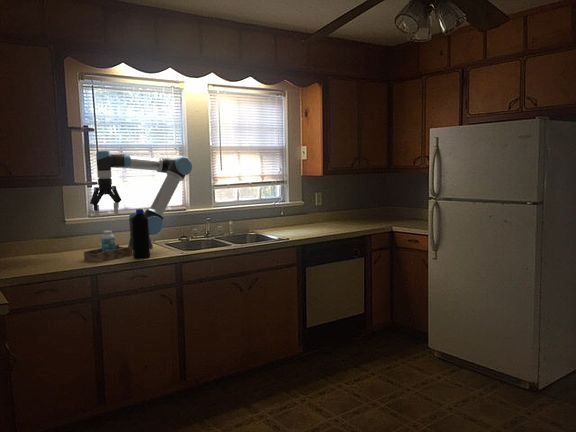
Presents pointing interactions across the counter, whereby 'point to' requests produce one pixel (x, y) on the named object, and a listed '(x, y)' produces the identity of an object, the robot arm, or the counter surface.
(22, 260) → the counter surface
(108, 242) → the pill bottle
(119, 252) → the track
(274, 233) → the counter surface
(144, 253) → the bottle
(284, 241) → the counter surface
